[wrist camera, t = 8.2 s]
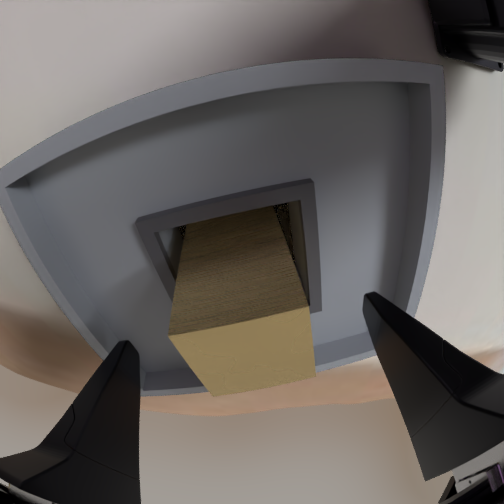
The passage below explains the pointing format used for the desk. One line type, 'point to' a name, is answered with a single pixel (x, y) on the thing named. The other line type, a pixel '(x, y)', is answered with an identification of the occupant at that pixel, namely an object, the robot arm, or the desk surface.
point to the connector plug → (241, 305)
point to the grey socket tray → (238, 198)
